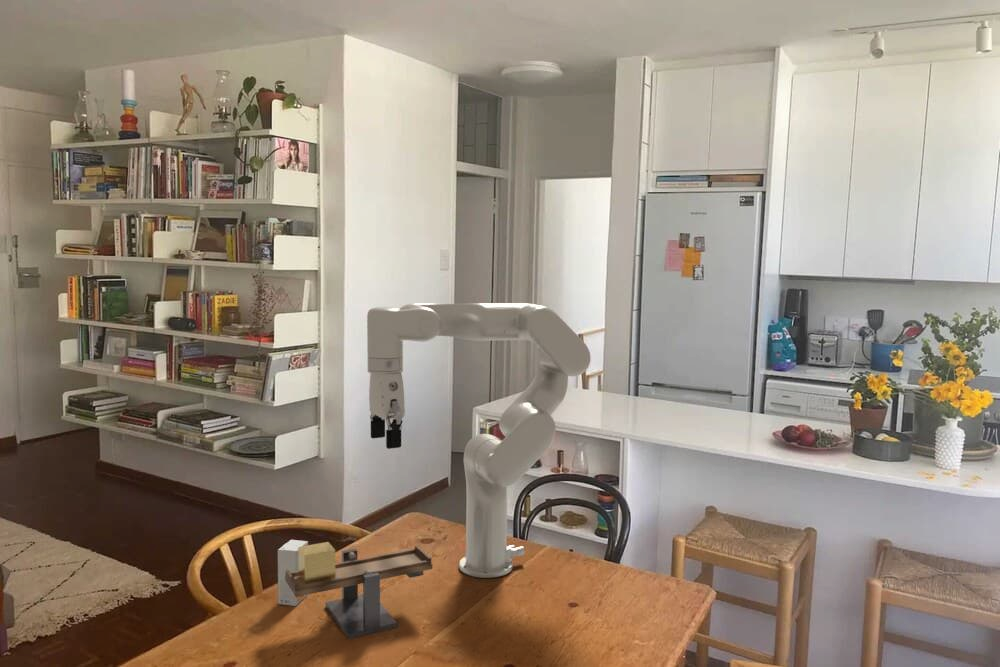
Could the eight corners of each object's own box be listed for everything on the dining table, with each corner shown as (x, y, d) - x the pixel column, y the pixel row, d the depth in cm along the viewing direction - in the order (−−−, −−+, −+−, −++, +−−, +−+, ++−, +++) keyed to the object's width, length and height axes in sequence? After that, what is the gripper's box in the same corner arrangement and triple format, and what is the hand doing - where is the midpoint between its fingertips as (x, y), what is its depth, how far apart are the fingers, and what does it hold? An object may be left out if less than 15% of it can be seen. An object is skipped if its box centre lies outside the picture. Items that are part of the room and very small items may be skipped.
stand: (371, 597, 167) (371, 545, 166) (397, 627, 154) (397, 571, 153) (325, 606, 162) (325, 553, 161) (348, 639, 149) (347, 581, 148)
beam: (413, 558, 169) (413, 540, 169) (435, 578, 159) (435, 559, 159) (283, 584, 156) (283, 564, 155) (297, 607, 146) (297, 586, 145)
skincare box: (296, 606, 162) (295, 551, 161) (277, 604, 163) (276, 549, 162) (309, 594, 168) (308, 540, 167) (291, 592, 169) (290, 539, 168)
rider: (328, 570, 156) (328, 541, 156) (335, 579, 152) (335, 549, 152) (298, 576, 154) (298, 547, 153) (304, 585, 150) (304, 555, 149)
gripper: (417, 369, 162) (417, 449, 164) (387, 358, 177) (387, 432, 179) (382, 372, 158) (383, 454, 160) (355, 360, 174) (356, 435, 175)
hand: (385, 442), depth 170 cm, fingers open, 9 cm apart
